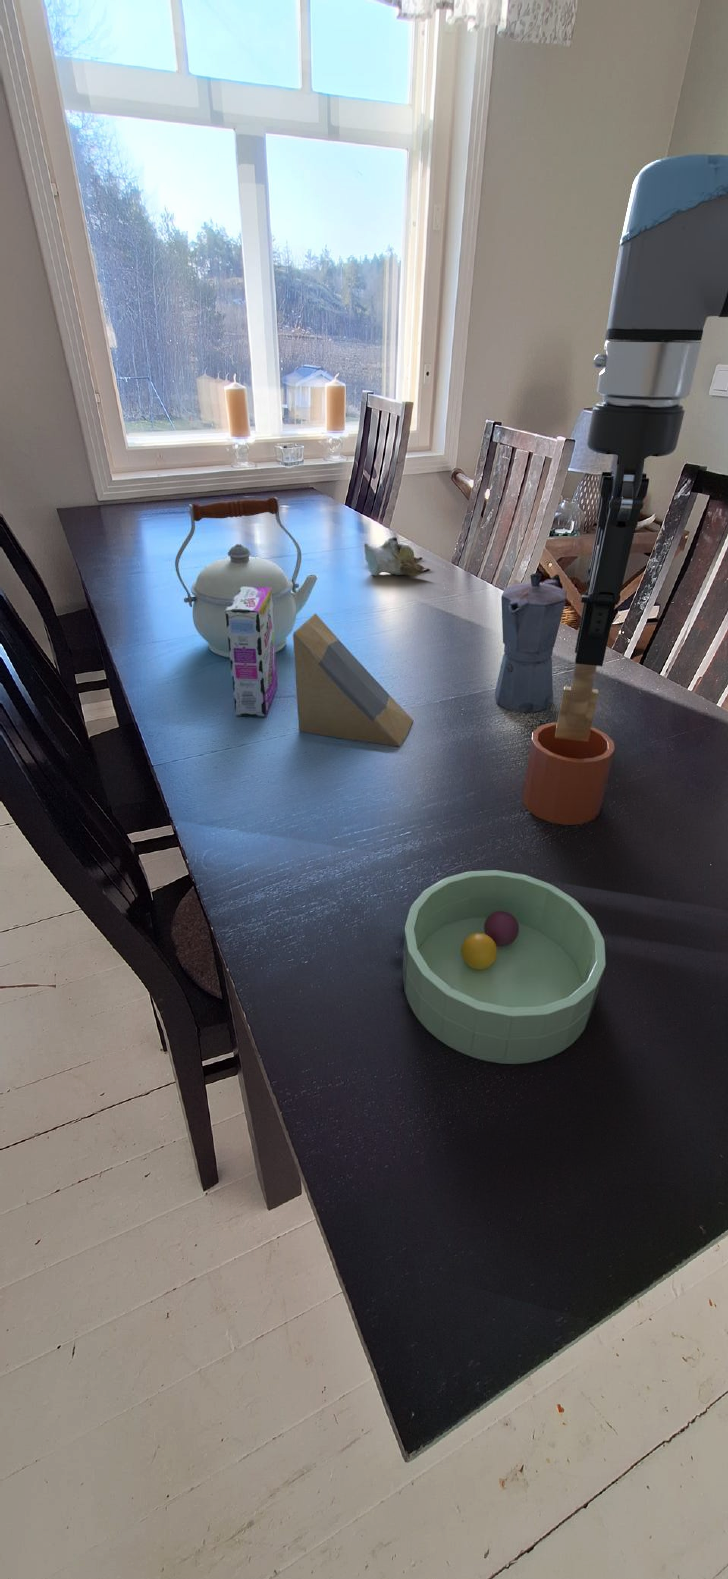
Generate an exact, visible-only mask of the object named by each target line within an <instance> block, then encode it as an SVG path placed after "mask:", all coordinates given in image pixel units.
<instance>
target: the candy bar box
mask: <svg viewBox="0 0 728 1579" xmlns="http://www.w3.org/2000/svg"><path fill="white" fill-rule="evenodd" d="M225 614H226V622H227V633H228V643H229V653H230V658H229V662H230V671H231V672H230V673H231V681H232V682H231V683H232V692H233V693H232V694H233V703H234V715H235V716H236V717H253V718H265V717H267V714H268V712H269V709H270V706H271V703H272V700H273V699H274V696H275V692H276V690H277V688H278V673H277V671H278V670H277V656H276V655H277V654H276V653H275V637H274V618H273V603H272V588H268V587H241V588H240V590H239V591H238V593H237V594H236V596H235V597H234V599H233V600H232V601H231V603H230V604H229V606H228V607H227V609H226V610H225Z"/></svg>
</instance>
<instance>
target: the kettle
mask: <svg viewBox="0 0 728 1579" xmlns="http://www.w3.org/2000/svg"><path fill="white" fill-rule="evenodd" d="M188 507H189V510H188V515H189V516H190V523H191V524H190V525H191V527H190V531H189V533H188V535H187V537H186V538H185V539H184V541H183V543H182V544H181V546H180V548H179V549H178V552H177V554H176V556H175V560H174V567H175V573H176V575H177V577H178V580H179V581H180V584H181V586H183V588H184V590H185V592H186V594H187V597H184V598H183V602H184V603H185V604H186V603H188V606H189V607H190V608H192V622H193V625H194V628H195V630H196V631H197V633H198V634H199V636H200V637H201V638H202V639H203V640H205V641H206V642H207V644H208V649H209V650H210V651H211V652H213V653H214V654H215V655H218V656H220V657H225V658H229V659H230V653H229V643H228V633H227V622H226V614H225V610H226V609H227V607H228V606H229V604H230V603H231V601H232V600H233V599H234V597H235V596H236V594H237V593H238V591H239V590H240V588H241V587H268V588H272V603H273V618H274V637H275V654H276V653H278V652H279V651H281V650H282V649H284V647H285V646H286V644H287V638H288V636H289V635H290V634H291V632H292V631H293V629H294V627H295V624H296V619H297V615H298V614H299V613H300V612H301V610H302V609H303V608H304V607H305V605H306V603H307V601H308V600H309V597H310V596H311V593H312V591H313V589H314V588H315V586H316V582H317V580H318V578H319V576H318V575H315V574H307V576H306V577H305V579H304V581H303V582H302V583H301V585H300V584H299V583H298V582H296V581H297V578H298V575H299V572H300V569H301V564H302V550H301V546H300V544H299V543H298V541H297V540H296V539H295V538H294V537H293V535H291V533H290V532H289V531H288V530H287V529H286V527H285V526H284V525H283V524H282V521H281V517H280V509H279V508H280V502H279V498H278V497H276V496H269V497H268V498H267V499H257V498H256V499H253V498H249V499H248V498H247V499H242V500H240V499H237V500H235V499H234V500H228V501H215V502H210V503H206V504H201V505H200V504H198V503H197V502H195V503H192V504H191V503H190V504H189V506H188ZM265 513H269V514H271V515H275V516H274V517H275V520H276V523H277V524H278V525H279V527H280V528H281V529H282V531H284V533H285V534H286V535H287V536H288V537H289V538H290V539H291V541H292V543H293V544H294V546H295V548H296V554H297V555H296V563H295V567H294V570H293V573H292V576H291V578H289V577H287V575H286V573H285V571H284V570H283V569H282V568H281V567H280V566H279V565H278V564H276V563H274V562H273V561H270V560H268V559H266V558H262V557H257V556H251V555H252V551H251V550H249V548H248V547H246V546H245V545H242V544H241V543H236V544H235V545H234V546H232V547H230V549H229V550H228V552H227V556H228V557H224V558H221V559H217V560H215V561H213V562H211V563H209V564H208V565H206V566H205V567H203V568H202V570H200V572H199V574H198V575H197V577H196V581H194V583H193V584H192V585H191V586H190V591H189V590H188V588H187V586H186V585H185V582H184V581H183V579H182V577H181V573H180V568H179V563H180V559H181V557H182V554H183V553H184V551H185V550H186V548H187V547H188V545H189V543H190V541H191V539H192V538H193V536H194V535H195V530H196V522H200V521H201V520H203V519H227V518H238V517H239V518H242V517H252V516H258V515H261V514H265ZM190 592H191V593H190ZM191 594H192V595H193V596H192V595H191Z"/></svg>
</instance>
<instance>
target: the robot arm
mask: <svg viewBox="0 0 728 1579" xmlns="http://www.w3.org/2000/svg"><path fill="white" fill-rule="evenodd" d="M627 205H628V206H627V210H626V215H625V219H624V224H623V229H622V233H621V234H622V235H621V238H620V241H619V248H618V254H617V259H616V267H615V273H614V280H613V287H612V293H611V298H610V305H609V312H608V318H607V325H606V332H605V338H604V339H605V342H604V346H603V349H604V350H605V351H606V353H599V354H596V355H595V356H594V358H593V362H592V365H593V367H594V368H600V369H601V368H602V370H600V372H599V374H598V381H597V387H596V393H597V395H598V396H600V397H602V401H599V402H596V404H595V406H593V407H592V412H591V418H590V425H589V430H588V436H587V443H586V444H587V448H588V449H589V450H590V451H592V452H594V453H598V454H602V455H612V460H611V464H610V469H609V471H607V470H606V471H604V470H601V474H600V478H599V485H598V490H599V498H598V503H597V508H596V520H597V523H596V529H595V536H594V542H593V546H592V553H591V559H590V564H589V567H588V569H587V575H588V578H587V581H586V585H587V589H586V590H585V594H581V597H580V603H582V604H583V605H582V610H581V616H580V621H579V626H578V632H577V638H576V643H575V647H574V653H575V658H574V665H575V664H584V665H594V666H597V667H603V665H604V660H605V656H606V652H607V647H608V642H609V636H610V632H611V628H612V623H613V618H614V612H615V608H616V606H618V604H619V602H620V601H621V593H622V588H623V584H624V579H625V576H626V575H625V574H626V571H627V568H628V567H627V566H628V562H629V558H630V554H631V550H632V545H633V542H634V536H635V532H636V529H637V527H638V523H639V518H640V513H641V510H643V508H644V500H645V499H646V497H647V495H648V494H647V493H648V489H649V484H650V478H649V477H647V472H644V468H645V461H646V459H647V458H649V457H657V458H658V457H664V456H668V455H671V454H672V453H674V452H675V450H676V449H677V446H678V441H679V437H680V433H681V429H682V425H683V420H684V416H685V412H686V410H685V409H684V406H683V405H681V400H683V399H686V398H687V397H688V396H690V393H691V388H692V385H693V382H694V376H695V373H696V368H697V364H698V359H699V355H700V352H701V351H700V350H701V347H702V343H703V342H702V339H703V335H704V327H705V325H706V321H707V319H708V318H710V317H718V318H728V154H722V153H721V154H720V153H719V154H718V153H717V154H706V153H692V154H680V155H673V156H668V157H664V158H660V159H657V160H653V161H651V162H649V163H648V164H646V165H645V166H644V167H643V168H642V169H641V170H640V171H639V173H638V174H637V175H636V177H635V178H634V181H633V183H632V186H631V191H630V196H629V201H628V204H627ZM598 545H599V547H598V552H597V558H596V563H595V569H594V574H593V580H592V585H591V591H590V594H589V595H588V593H589V588H590V582H591V577H592V572H593V566H594V561H595V556H596V551H597V546H598Z"/></svg>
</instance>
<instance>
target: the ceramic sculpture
mask: <svg viewBox="0 0 728 1579" xmlns="http://www.w3.org/2000/svg"><path fill="white" fill-rule="evenodd" d="M363 547H364V557H365V558H364V560H365V562H366V563H367V566H368V570H369V572H370V574H371V575H373V576H375V577H377V576H379V575H380V574H381V573H386V574H387V573H388V574H391V575H393V574H395V575H396V576H402V575H408V576H418V575H423V574H425V573H428V572H430V571H431V569H430V568H427V567H424V566H423V565H422V564H420V563H419V562H421V561H422V560H423V557H420V556H419V557H416V556H415V552H414V549H413V548H412V546H411V545H410V544H408V543H407V542H405V541H402V542H400V541H398V538H397V536H395V537H390V538H388V539H387V540H385V541H384V543H383V544H381V545H374V544H371V543H367V542H366V543H365V542H364V545H363ZM395 575H394V576H395Z"/></svg>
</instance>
